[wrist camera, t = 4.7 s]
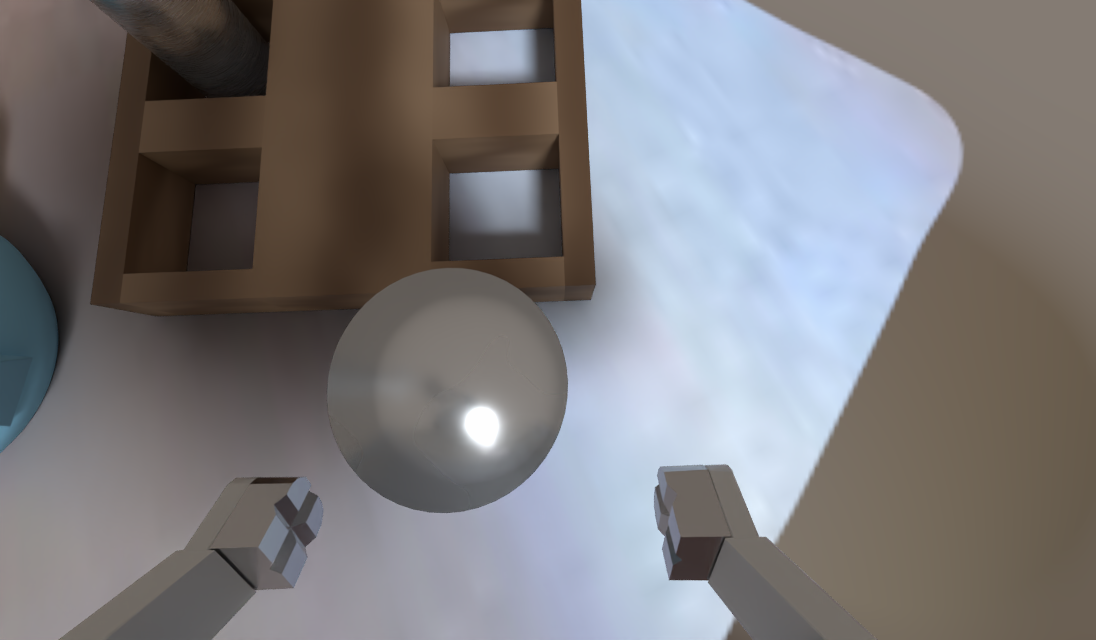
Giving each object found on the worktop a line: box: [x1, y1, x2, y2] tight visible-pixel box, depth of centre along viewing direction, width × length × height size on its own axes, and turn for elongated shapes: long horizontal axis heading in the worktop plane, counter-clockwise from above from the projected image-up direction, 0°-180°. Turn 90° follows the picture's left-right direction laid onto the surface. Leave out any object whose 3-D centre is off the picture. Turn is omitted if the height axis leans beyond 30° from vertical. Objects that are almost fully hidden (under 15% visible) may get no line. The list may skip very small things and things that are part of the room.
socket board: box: [90, 0, 596, 316], centre depth 21 cm, size 21×16×3 cm
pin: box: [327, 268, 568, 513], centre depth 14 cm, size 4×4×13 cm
